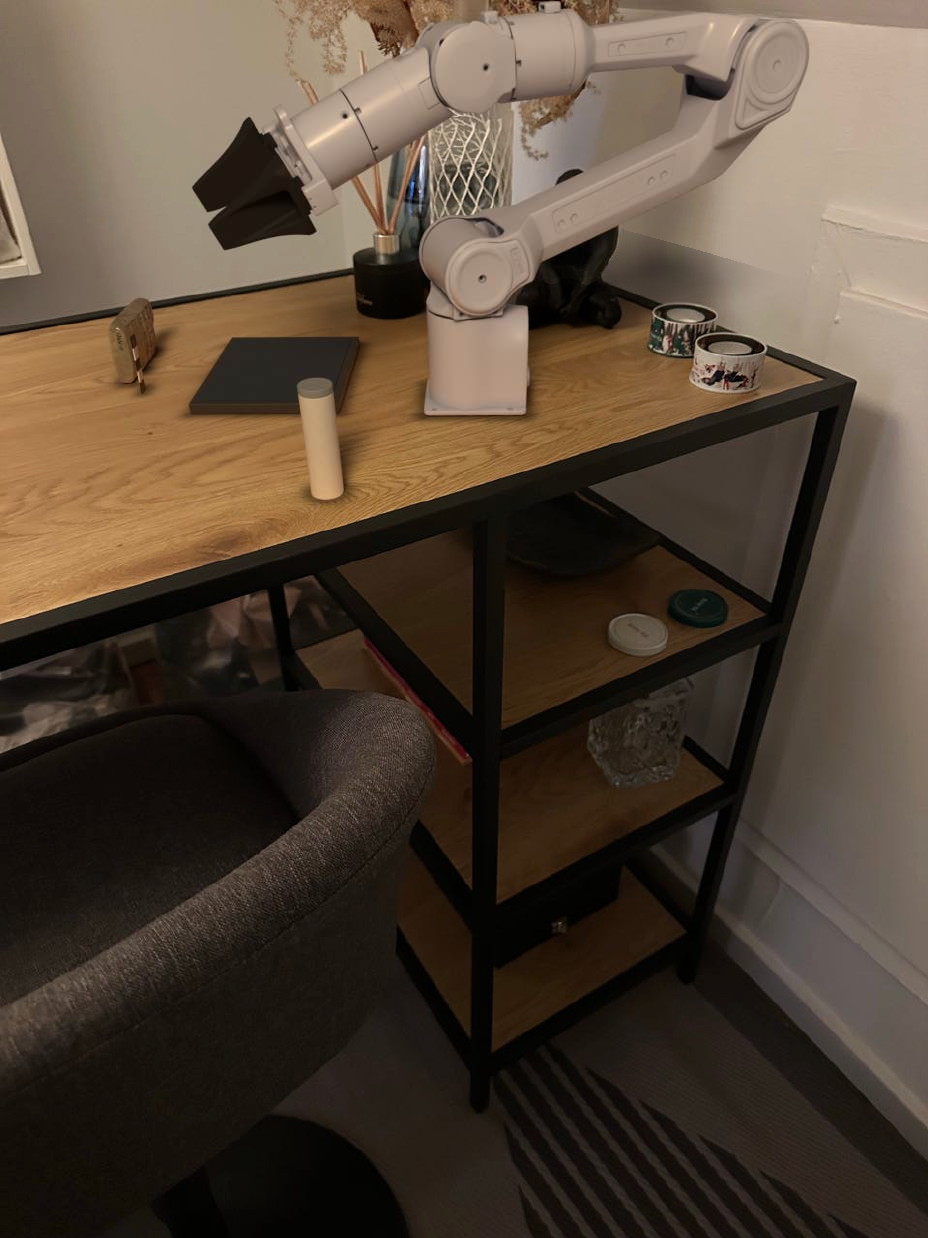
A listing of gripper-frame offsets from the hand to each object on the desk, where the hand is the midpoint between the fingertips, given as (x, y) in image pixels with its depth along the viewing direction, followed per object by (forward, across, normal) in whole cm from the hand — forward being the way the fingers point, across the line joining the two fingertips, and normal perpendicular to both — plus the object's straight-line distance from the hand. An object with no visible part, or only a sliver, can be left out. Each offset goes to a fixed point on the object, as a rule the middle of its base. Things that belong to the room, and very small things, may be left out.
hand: (207, 217), depth 68 cm
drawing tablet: (+3, -8, +20) cm, 22 cm away
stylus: (+3, +17, +16) cm, 23 cm away
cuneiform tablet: (+15, -16, +16) cm, 27 cm away
